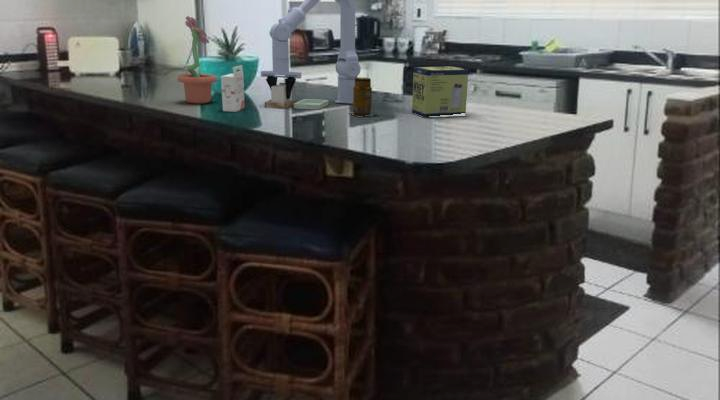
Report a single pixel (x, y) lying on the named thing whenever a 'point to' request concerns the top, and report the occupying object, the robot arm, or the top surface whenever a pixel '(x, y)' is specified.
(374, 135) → the top surface
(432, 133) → the top surface
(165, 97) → the top surface
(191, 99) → the decorative flower
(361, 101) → the condiment
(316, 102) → the tray
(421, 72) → the protein box
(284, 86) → the light grey square block
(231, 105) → the ink cartridge box
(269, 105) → the caddy bay
